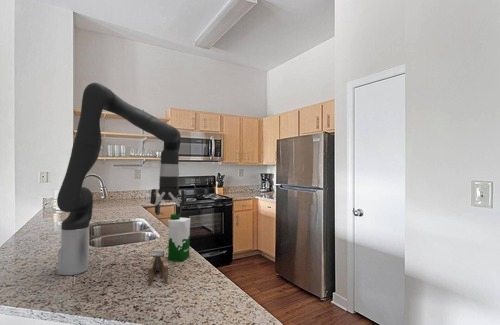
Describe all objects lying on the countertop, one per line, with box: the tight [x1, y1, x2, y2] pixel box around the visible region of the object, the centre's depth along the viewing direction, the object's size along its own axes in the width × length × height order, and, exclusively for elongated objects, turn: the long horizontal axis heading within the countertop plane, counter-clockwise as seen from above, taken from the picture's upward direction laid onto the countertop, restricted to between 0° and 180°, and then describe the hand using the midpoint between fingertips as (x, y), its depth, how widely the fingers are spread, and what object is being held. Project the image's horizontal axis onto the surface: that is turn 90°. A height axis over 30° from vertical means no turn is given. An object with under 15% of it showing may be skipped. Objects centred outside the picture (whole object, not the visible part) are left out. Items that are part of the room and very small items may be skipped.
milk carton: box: [167, 213, 191, 263], centre depth 118 cm, size 9×9×20 cm
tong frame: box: [147, 248, 165, 287], centre depth 99 cm, size 20×4×7 cm, turn 14°
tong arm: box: [155, 256, 169, 284], centre depth 98 cm, size 16×3×6 cm, turn 28°
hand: (168, 215), depth 104 cm, fingers open, 8 cm apart
